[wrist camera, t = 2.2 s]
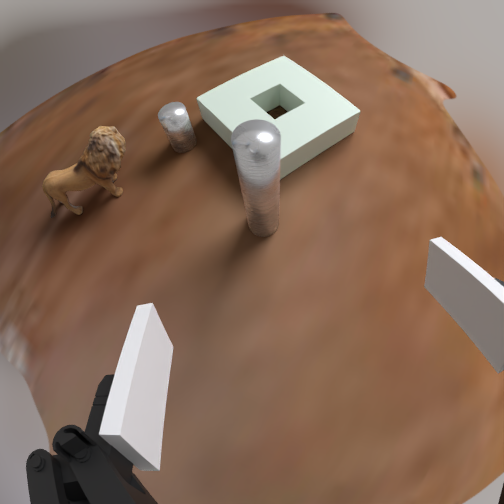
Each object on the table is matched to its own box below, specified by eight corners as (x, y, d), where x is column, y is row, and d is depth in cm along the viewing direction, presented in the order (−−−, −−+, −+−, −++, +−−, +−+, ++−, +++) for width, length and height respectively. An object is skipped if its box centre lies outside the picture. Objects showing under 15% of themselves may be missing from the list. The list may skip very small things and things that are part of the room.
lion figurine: (138, 153, 36) (110, 108, 27) (148, 182, 34) (117, 138, 26) (52, 205, 35) (13, 174, 26) (55, 236, 33) (12, 208, 25)
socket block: (202, 118, 37) (196, 98, 33) (283, 76, 39) (283, 55, 35) (268, 187, 33) (267, 167, 29) (354, 131, 35) (360, 111, 31)
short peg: (168, 142, 36) (153, 112, 30) (188, 129, 36) (177, 98, 31) (179, 157, 35) (165, 126, 29) (201, 143, 36) (190, 111, 30)
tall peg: (242, 220, 32) (221, 135, 19) (266, 203, 32) (260, 112, 19) (260, 242, 31) (250, 165, 18) (285, 224, 31) (291, 140, 18)
